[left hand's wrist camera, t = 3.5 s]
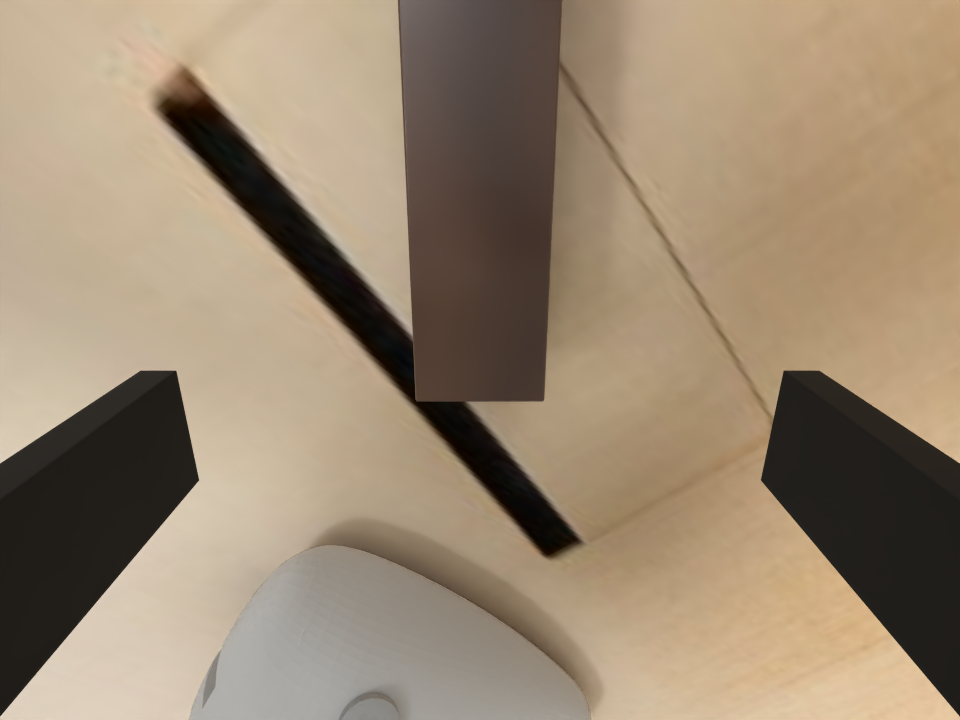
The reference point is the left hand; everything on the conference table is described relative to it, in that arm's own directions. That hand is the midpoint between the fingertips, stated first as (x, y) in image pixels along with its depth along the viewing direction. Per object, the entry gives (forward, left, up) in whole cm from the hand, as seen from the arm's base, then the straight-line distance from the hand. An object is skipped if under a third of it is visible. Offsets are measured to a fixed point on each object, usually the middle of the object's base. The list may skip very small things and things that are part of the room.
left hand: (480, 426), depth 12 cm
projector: (-4, -26, -17) cm, 31 cm away
